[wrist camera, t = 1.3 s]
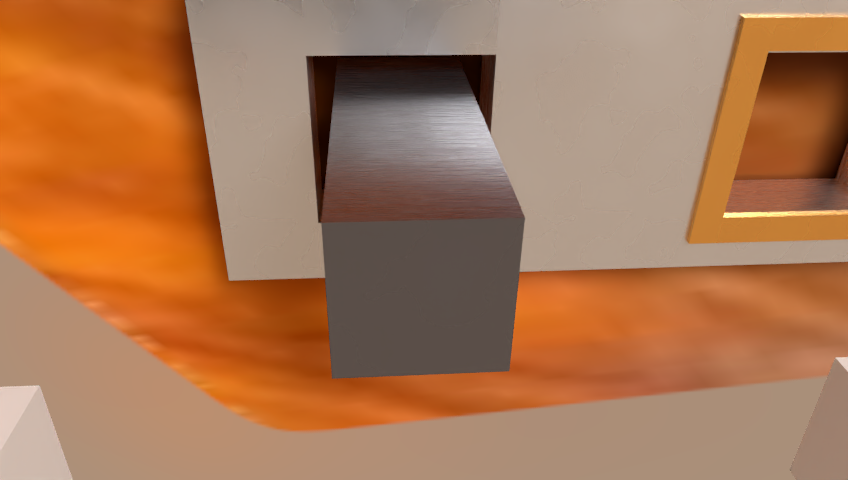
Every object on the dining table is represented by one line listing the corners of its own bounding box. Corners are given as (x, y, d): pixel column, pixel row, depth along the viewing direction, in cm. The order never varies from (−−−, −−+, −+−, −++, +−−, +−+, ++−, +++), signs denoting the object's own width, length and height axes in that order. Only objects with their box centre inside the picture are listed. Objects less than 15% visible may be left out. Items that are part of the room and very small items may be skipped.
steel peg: (337, 57, 23) (321, 222, 13) (458, 56, 23) (525, 217, 14) (342, 168, 25) (332, 378, 15) (453, 166, 25) (509, 370, 16)
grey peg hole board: (199, -40, 21) (179, -23, 19) (1003, -38, 23) (1075, -22, 21) (239, 243, 26) (228, 283, 24) (893, 225, 28) (940, 261, 26)
